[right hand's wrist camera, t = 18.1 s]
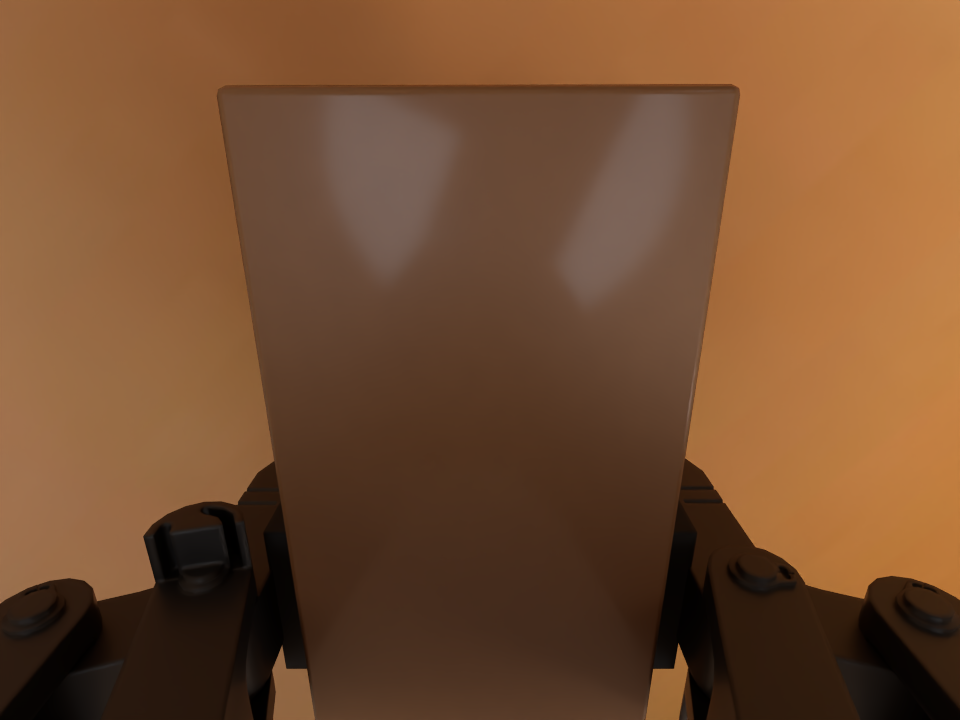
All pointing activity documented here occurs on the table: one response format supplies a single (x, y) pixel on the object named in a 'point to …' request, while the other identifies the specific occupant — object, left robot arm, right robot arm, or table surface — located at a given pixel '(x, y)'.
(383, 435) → the bar
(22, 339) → the table surface
